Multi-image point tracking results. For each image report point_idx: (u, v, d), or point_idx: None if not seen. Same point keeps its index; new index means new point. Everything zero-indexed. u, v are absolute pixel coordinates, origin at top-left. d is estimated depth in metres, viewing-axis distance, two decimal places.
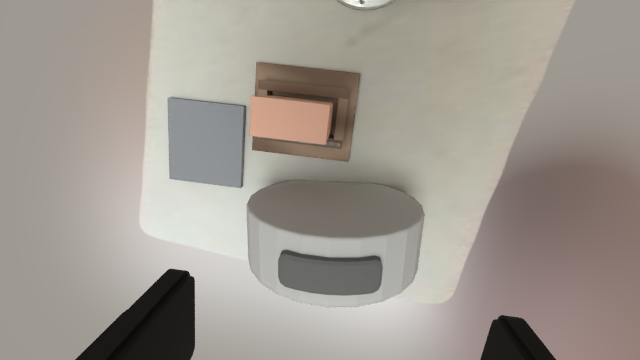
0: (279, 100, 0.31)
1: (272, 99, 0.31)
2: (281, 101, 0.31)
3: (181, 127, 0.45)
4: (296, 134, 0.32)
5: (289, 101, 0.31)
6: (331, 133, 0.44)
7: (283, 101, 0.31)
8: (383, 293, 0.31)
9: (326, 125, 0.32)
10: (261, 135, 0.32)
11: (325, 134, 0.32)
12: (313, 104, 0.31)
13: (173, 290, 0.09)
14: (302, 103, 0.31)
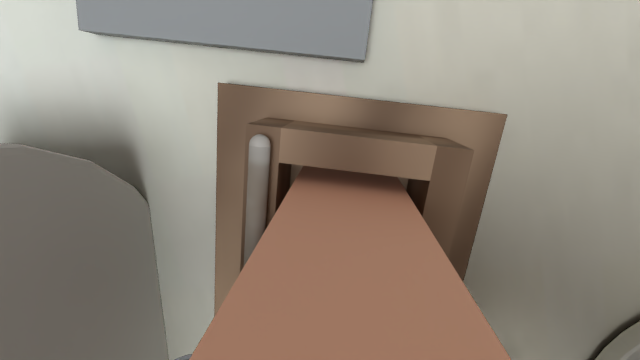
0: None
1: None
2: None
3: None
4: None
5: None
6: None
7: None
8: None
9: None
10: None
11: None
12: None
13: None
14: None
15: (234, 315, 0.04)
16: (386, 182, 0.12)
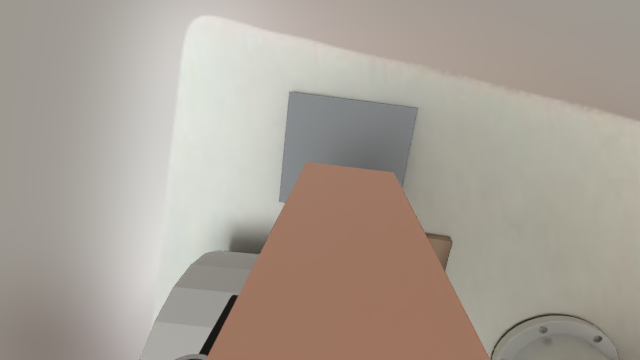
0: None
1: None
2: None
3: (371, 123, 0.29)
4: None
5: None
6: None
7: None
8: None
9: None
10: None
11: None
12: None
13: None
14: None
15: (246, 313, 0.05)
16: (384, 181, 0.13)
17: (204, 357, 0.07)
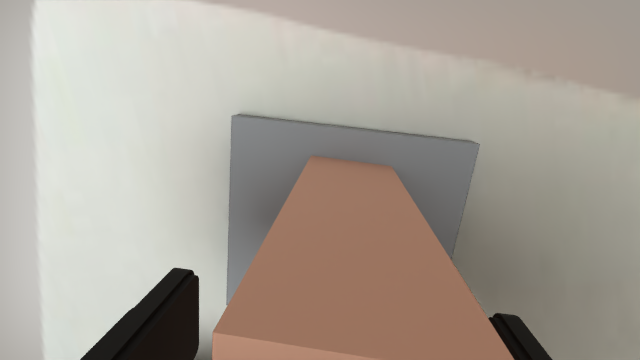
0: None
1: None
2: None
3: None
4: None
5: None
6: None
7: None
8: None
9: None
10: None
11: None
12: None
13: (178, 289, 0.09)
14: None
15: (270, 253, 0.06)
16: (383, 172, 0.14)
17: None
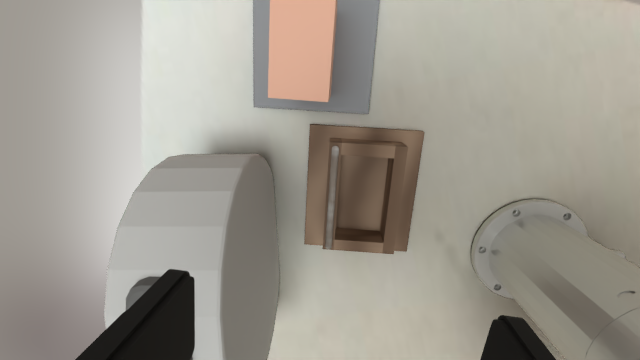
0: (332, 16, 0.19)
1: (333, 3, 0.19)
2: (331, 20, 0.19)
3: None
4: (279, 48, 0.20)
5: (331, 34, 0.19)
6: (337, 224, 0.36)
7: (331, 24, 0.19)
8: None
9: (297, 98, 0.21)
10: None
11: (283, 97, 0.21)
12: (328, 75, 0.20)
13: (173, 290, 0.09)
14: (329, 57, 0.20)
15: None
16: None
17: None
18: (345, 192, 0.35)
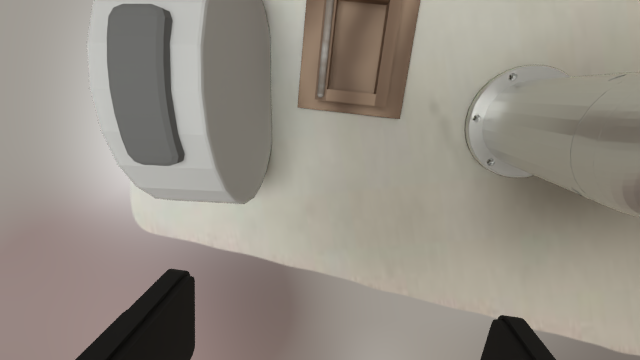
0: None
1: None
2: None
3: None
4: None
5: None
6: (331, 85, 0.36)
7: None
8: (130, 166, 0.23)
9: None
10: None
11: None
12: None
13: (173, 290, 0.09)
14: None
15: None
16: None
17: None
18: (341, 49, 0.35)
